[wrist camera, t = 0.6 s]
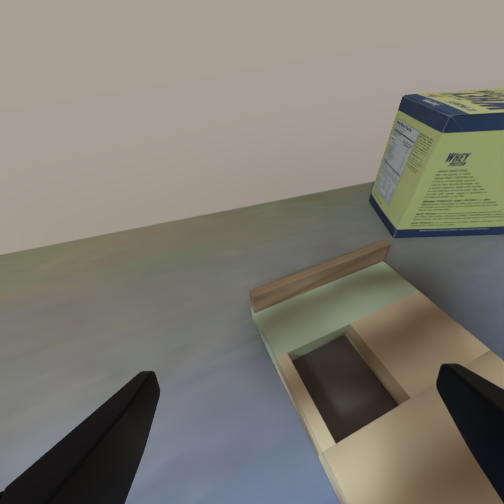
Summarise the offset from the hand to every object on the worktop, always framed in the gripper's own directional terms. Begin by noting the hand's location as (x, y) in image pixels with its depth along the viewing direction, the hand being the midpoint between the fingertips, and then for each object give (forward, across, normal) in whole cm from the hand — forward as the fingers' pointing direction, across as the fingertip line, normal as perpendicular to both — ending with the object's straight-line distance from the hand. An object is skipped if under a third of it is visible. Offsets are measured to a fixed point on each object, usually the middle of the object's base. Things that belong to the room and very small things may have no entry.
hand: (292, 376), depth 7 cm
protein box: (+31, -25, +3) cm, 40 cm away
